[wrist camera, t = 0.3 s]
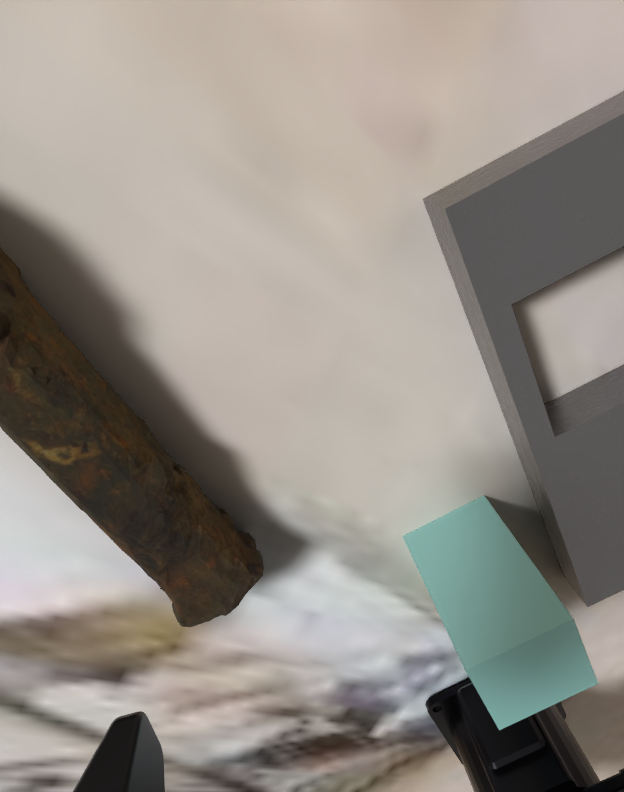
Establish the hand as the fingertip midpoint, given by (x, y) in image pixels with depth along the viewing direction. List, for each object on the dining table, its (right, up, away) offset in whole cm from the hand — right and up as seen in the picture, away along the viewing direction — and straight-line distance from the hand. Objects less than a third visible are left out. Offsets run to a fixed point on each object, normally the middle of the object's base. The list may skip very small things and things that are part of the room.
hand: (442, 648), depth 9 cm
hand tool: (-11, +4, +12) cm, 17 cm away
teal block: (+5, -3, +18) cm, 19 cm away
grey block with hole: (+10, +5, +15) cm, 19 cm away
